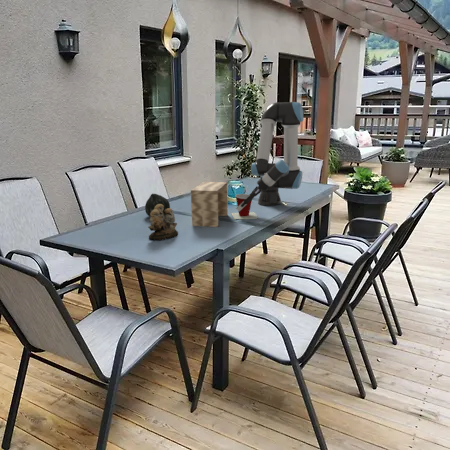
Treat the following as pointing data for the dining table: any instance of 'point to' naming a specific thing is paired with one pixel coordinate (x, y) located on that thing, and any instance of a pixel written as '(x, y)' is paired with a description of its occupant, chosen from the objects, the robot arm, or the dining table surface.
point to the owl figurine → (162, 223)
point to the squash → (155, 203)
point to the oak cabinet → (209, 203)
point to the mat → (251, 216)
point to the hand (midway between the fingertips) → (239, 207)
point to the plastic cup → (239, 200)
